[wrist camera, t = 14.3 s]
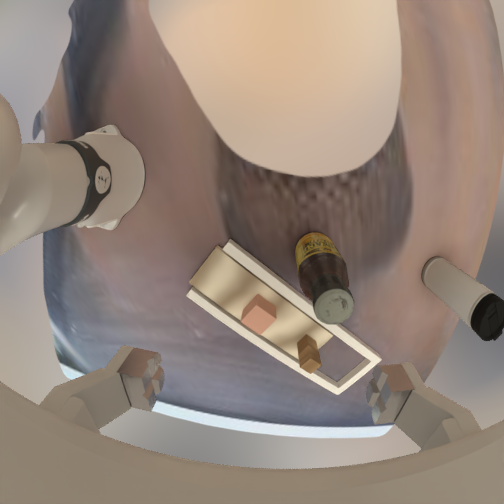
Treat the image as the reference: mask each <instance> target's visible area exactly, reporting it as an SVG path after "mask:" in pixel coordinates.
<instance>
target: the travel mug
mask: <svg viewBox="0 0 504 504" xmlns="http://www.w3.org/2000/svg"><path fill="white" fill-rule="evenodd" d="M422 281H423V283H424V285H425V286H427V287H428V288H429V289H430V290H431V291H432V292H433V293H434V294H435V295H437V296H438V297H439V298H440V299H441V300H442V301H443V302H444V303H445V304H446V305H447V306H448V307H450V308H451V309H452V310H453V311H454V312H455V313H456V314H457V315H458V316H459V317H460V318H461V319H462V320H463V321H464V322H465V323H466V324H467V325H468V326H469V327H470V328H471V329H472V330H474V331H475V332H476V333H477V334H478V335H479V336H480V337H481V339H482V340H484V341H490V340H492V339H493V340H496V339H497V338H498V337H499V336H500V335H501V334H502V329H503V328H504V300H502V299H501V298H500V297H498V296H497V295H496V294H495V293H493V292H492V291H491V290H489V289H488V288H487V287H485V286H484V285H482V284H481V283H479V282H478V281H477V280H475V279H474V278H472V277H471V276H469V275H468V274H466V273H465V272H463V271H462V270H460V269H459V268H457V267H456V266H454V265H453V264H451V263H450V262H448V261H446V260H445V259H443V258H442V257H434V258H432V259H430V260H429V261H428V262H427V263H426V264H425V266H424V268H423V271H422Z"/></svg>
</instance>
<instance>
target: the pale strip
mask: <svg viewBox="0 0 504 504" xmlns="http://www.w3.org/2000/svg"><path fill="white" fill-rule="evenodd" d="M189 283H190V284H191V285H193V286H194V287H195V288H197V289H198V290H199V291H200V292H202V293H203V294H205V295H206V296H207V297H209V298H210V299H211V300H213V301H214V302H215V303H217V304H218V305H219V306H221V307H222V308H224V309H225V310H226V311H228V312H229V313H231V314H232V315H233V316H235V317H236V318H238V319H239V320H240V321H241V316H242V311H243V309H244V308H245V307H246V306H247V305H248V304H249V302H250V301H251V300H252V299H253V298H254V297H255V296H256V295H257V294H259V295H260V296H262V297H263V298H264V299H266V300H267V301H269V302H270V303H271V304H273V305H274V306H275V307H276V318H277V319H276V320H275V321H274V322H273V323H272V324H271V325H270V326H269V327H268V328H267V329H266V330H265V331H264V332H263V333H262V334H261V335H262V336H263V337H265V338H266V339H268V340H269V341H271V342H272V343H274V344H275V345H277V346H278V347H280V348H281V349H283V350H284V351H286V352H287V353H289V354H291V355H292V356H294V357H295V358H297V359H298V360H299V365H300V368H301V369H303V370H305V371H306V372H308V373H310V374H311V373H313V372H314V371H315V370H316V369H318V368H319V367H320V366H321V361H320V356H319V351H318V349H319V348H320V347H322V346H323V345H324V344H325V343H326V342H327V341H328V340H329V339H330V338H331V337H333V333H332V332H330V331H329V330H328V329H326V328H325V327H324V326H322V325H321V324H320V323H318V322H317V321H316V320H314V319H313V318H312V317H310V316H309V315H308V314H306V313H305V312H304V311H302V310H301V309H300V308H298V307H297V306H296V305H294V304H293V303H292V302H290V301H289V300H288V299H286V298H285V297H284V296H282V295H281V294H280V293H278V292H277V291H276V290H274V289H273V288H272V287H270V286H269V285H268V284H267V283H265V282H264V281H263V280H261V279H260V278H259V277H257V276H256V275H255V274H253V273H252V272H251V271H250V270H248V269H247V268H246V267H244V266H243V265H242V264H240V263H239V262H238V261H237V260H235V259H234V258H233V257H231V256H230V255H229V254H227V253H226V252H225V251H224V250H222V248H221V247H219V246H218V245H217V246H216V248H215V249H214V250H213V251H212V253H211V254H210V255H209V257H208V258H207V259H206V260H205V262H204V263H203V264H202V266H201V267H200V268H199V270H198V271H197V272H196V273H195V275H194V276H193V277H192V279H191V280H190V281H189Z"/></svg>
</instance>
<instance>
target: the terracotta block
mask: <svg viewBox="0 0 504 504" xmlns="http://www.w3.org/2000/svg"><path fill="white" fill-rule="evenodd" d="M276 319H277V318H276V307H275V306H274V305H273V304H271V303H270V302H269V301H267V300H266V299H264V298H263V297H262V296H260V295H259V294H257V295H256V296H255V297H254V298H253V299H252V300H251V301H250V302H249V304H248V305H247V306H246V307H245V308H244V309H243V311H242V316H241V321H240V322H241V323H243V324H244V325H246V326H247V327H249V328H250V329H251V330H253V331H254V332H256V333H257V334H259V335H261V334H262V333H263V332H264V331H265V330H266V329H267V328H268V327H269V326H270V325H271V324H272V323H273V322H274V321H275V320H276Z"/></svg>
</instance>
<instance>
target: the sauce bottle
mask: <svg viewBox="0 0 504 504" xmlns="http://www.w3.org/2000/svg"><path fill="white" fill-rule="evenodd" d="M295 257H296V263H297V270H298V277H299V280H300V281H299V282H300V286H301V288H302V291H303V292H304V294H305V296H307V297H308V298H309V299H311V300H313V310H314V313H315V315H316V317H317V319H319V320H320V321H321V322H322V323H325V324H329V325H331V324H332V325H336V324H339V323H342V322H343V321H345V320H346V319H347V318H349V317H350V315H351V314H352V311H353V309H354V300H353V297H352V294H351V292H350V290H349V289H348V286H349V280H348V274H347V267H346V264H345V262H344V260H343V258H342V257H341V255H340V253H339V252H338V250H337V249H336V247H335V246H334V244H333V242H332V241H331V240H330V239H329V238H328V237H327V236H325V235H324V234H322V233H319V232H312V233H308V234H305V235H303V237H302V238H301V239H300V240H299V242H298V243H297V245H296V249H295Z"/></svg>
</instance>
